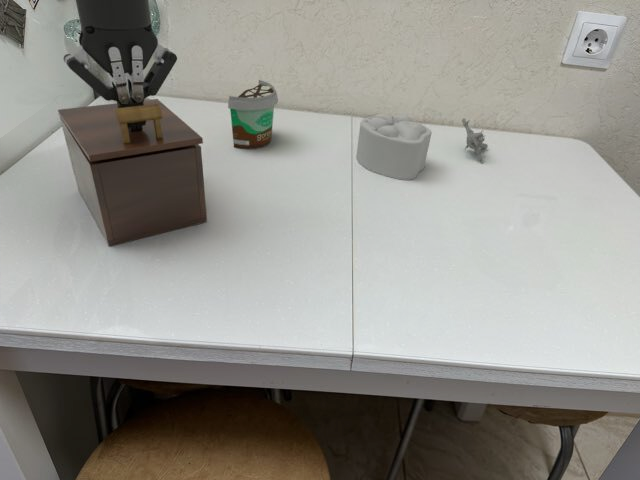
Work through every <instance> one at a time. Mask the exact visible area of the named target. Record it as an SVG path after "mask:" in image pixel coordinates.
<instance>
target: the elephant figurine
mask: <svg viewBox="0 0 640 480" xmlns="http://www.w3.org/2000/svg"><path fill="white" fill-rule="evenodd" d="M461 122H462V125H463V127H464V128H465V132H466V145H465V147H464V150H466V149H468V148H470V149H472V150H474V153H475V154H476V156H477V160H478V161H479V163H484V159H483V158H485V157H486V156H485V155H482V154H481V152H480V149H482V150H486V149H487V148H489V144H488V143H484V142H485V141H486V135H484V133H483V132H484V129H482V130H481V131H479V132H474V131H473V129H472V128H471V127H469V123H470V119H468V120H467V119H466V118H465V117H464V118H462V119H461ZM479 148H480V149H479Z"/></svg>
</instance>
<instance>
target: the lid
mask: <svg viewBox="0 0 640 480" xmlns="http://www.w3.org/2000/svg"><path fill="white" fill-rule="evenodd" d="M57 112H58V116H59V118H60V117H61V118H62V120H63V121H64V123H65V124H66V126H67V127H68V129H69V130H70V132H71V133H72V135H73V136H74V138H75V139H76V141H77V142H78V144H79V145H80V147H81V148H82V150H83V151H84V153H85V154H86V156H87V157H88V159H89V160H90V162H92V161H98V160H104V159H110V158H116V157H123V156H129V155H135V154H141V153H147V152H153V151H159V150H166V149H172V148H178V147H184V146H190V145H196V144H199V145H203V143H204V141H203V140H204V139H203V137H202V136H201V135H200V134H198V133H197V132H196V131H195V130H194V129H193V128H191V126H189V125H188V124H187V123H186V122H185V121H183V119H181V118H180V117H179V116H178V115H177V114H176V113H174V112H173V111H172V110H171V109H170V108H169V107H167V106H166V105H165V104H164V103H163V102H162V101H160V100H159V99H158V98H153V99H144V105H142V106H134V107H125V108H118V105H117V102H115V103H106V104H98V105H90V106H89V105H88V106H80V107H70V108H61V109H60V108H59V109H57ZM141 121H146V124H145V125H143V126H142V128H143V130H140V131H132V132H130V130H129V129H128V127H127V123H133V122H141Z"/></svg>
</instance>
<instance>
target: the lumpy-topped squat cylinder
mask: <svg viewBox="0 0 640 480" xmlns="http://www.w3.org/2000/svg"><path fill="white" fill-rule="evenodd" d="M359 124H360V125H359V130H358V131H359V132H358V138H357V139H358V140H357V147H356V154H355V158H356V161H357V163H358V164H359V165H361V166H362V167H363V168H365V169H366V170H368V171H370V172H373V173H375V174H378V175H381V176H385V177H389V178H393V179H396V180H401V181H412V180H414V179H416V178H417V177H418V175H419V173H420V172H421V171H423V170H424V169H425V166H426V162H427V157H428V152H429V147H430V142H431V137H432V130H431V129H430V128H429V127H427V126H425V125H423V124H422V123H420V122H417V121H412V118H411V117H410V116H409V115H408V114H405V113H400V114H396V115H394V116H393V115H390V114H388V113H386V112H385V113H379V114H377V115H375V116H367V117H364V118H363V119H362V120H361V121H360V123H359Z"/></svg>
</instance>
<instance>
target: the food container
mask: <svg viewBox="0 0 640 480" xmlns="http://www.w3.org/2000/svg"><path fill="white" fill-rule="evenodd" d="M278 98H279V97H278V92H277V90H276V88H275V86H274V85H273V84H272V83H270V82H268V81H264V80H261V79H258V85H256V86H254V87H252V88H249V89H246V90H244V91H243V92H241V93H240V94H239V95H238V96H233V95H228V102H227V109H230V110H229V111H230V119H231V120H230V121H231V131H232V142H233V148H237V149H244V150H245V149H246V150H251V149H252V150H254V149H255V150H257V149H260V148H261V149H262V148H264V147H266V146H269V145H270V144H271V142H272V133H273V123H274V114H275V112H274V111H275V106H276V105H277V104H278V102H279V99H278Z"/></svg>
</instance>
